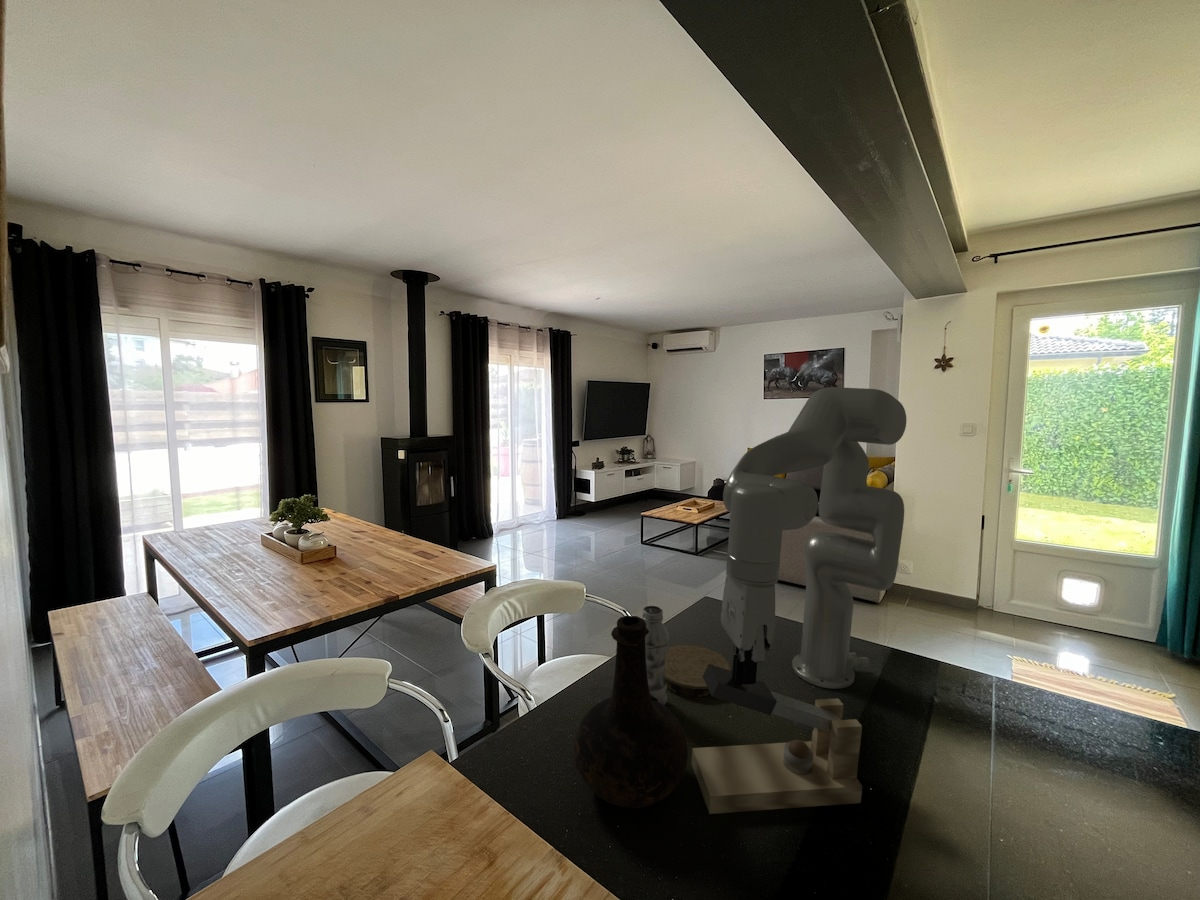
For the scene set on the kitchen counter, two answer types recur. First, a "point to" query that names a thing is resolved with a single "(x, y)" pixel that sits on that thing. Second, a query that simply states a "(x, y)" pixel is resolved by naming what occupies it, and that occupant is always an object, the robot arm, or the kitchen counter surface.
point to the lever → (766, 700)
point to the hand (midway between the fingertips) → (743, 681)
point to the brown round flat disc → (690, 669)
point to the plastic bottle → (656, 652)
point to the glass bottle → (631, 732)
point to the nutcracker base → (784, 770)
